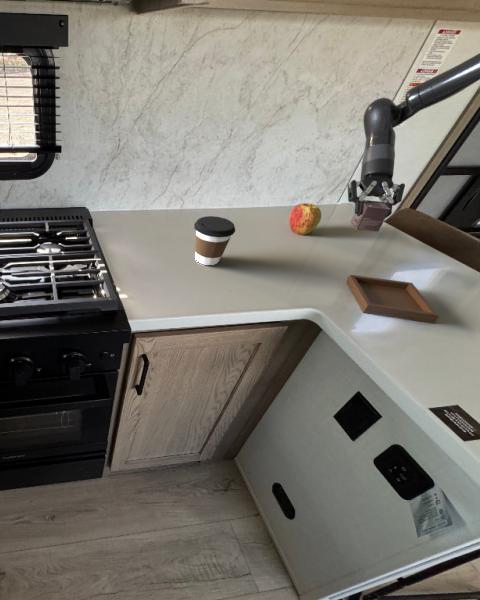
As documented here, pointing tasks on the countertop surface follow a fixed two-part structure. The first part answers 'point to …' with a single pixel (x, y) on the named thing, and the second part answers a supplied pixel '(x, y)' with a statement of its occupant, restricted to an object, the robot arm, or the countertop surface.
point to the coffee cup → (212, 238)
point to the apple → (304, 218)
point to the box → (371, 216)
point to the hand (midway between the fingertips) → (372, 215)
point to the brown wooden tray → (391, 298)
